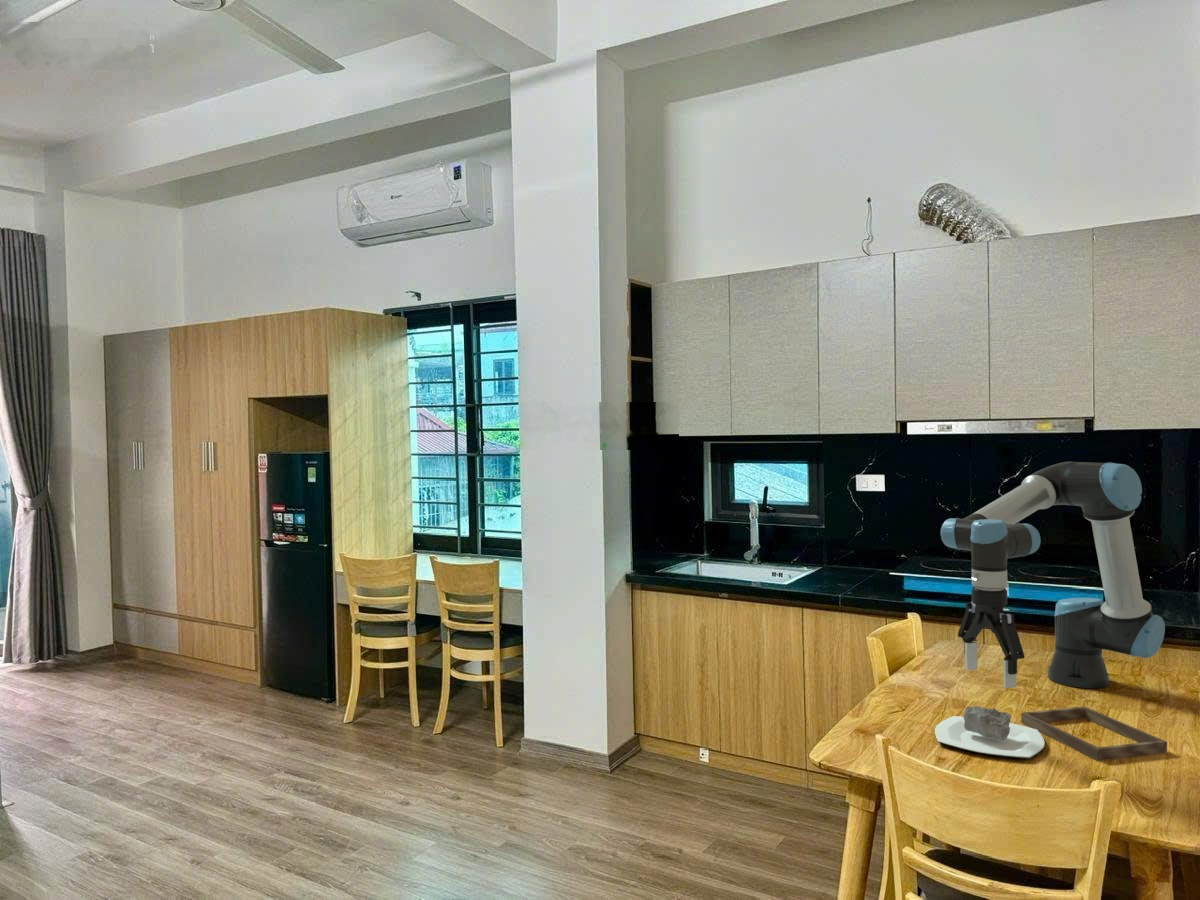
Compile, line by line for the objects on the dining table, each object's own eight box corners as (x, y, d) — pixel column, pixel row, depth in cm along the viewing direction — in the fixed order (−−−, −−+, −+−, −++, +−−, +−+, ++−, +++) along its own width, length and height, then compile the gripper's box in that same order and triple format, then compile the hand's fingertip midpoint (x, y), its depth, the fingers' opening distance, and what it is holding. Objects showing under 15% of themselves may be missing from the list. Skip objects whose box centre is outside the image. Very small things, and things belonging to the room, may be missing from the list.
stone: (1009, 744, 194) (1009, 718, 194) (962, 737, 199) (961, 712, 198) (1011, 731, 201) (1011, 707, 201) (965, 725, 206) (965, 701, 205)
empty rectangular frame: (1084, 716, 214) (1084, 706, 214) (1166, 753, 191) (1167, 741, 191) (1021, 722, 211) (1021, 712, 210) (1097, 760, 187) (1097, 749, 187)
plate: (1040, 771, 184) (1040, 762, 184) (926, 750, 196) (926, 741, 196) (1048, 736, 203) (1048, 728, 203) (944, 719, 215) (944, 711, 215)
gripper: (942, 578, 210) (942, 664, 211) (1011, 600, 185) (1012, 697, 186) (969, 576, 211) (970, 661, 212) (1042, 597, 187) (1042, 693, 188)
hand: (989, 678), depth 199 cm, fingers open, 13 cm apart
